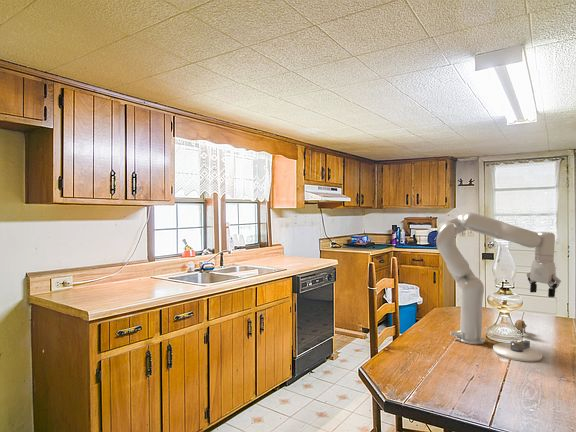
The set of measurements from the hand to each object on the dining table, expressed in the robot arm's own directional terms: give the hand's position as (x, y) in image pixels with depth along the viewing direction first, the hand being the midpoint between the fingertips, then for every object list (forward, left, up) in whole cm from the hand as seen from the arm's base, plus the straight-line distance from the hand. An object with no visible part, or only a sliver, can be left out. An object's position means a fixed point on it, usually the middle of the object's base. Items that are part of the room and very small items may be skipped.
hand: (542, 294), depth 187 cm
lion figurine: (0, +18, -25) cm, 31 cm away
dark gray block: (-14, -9, -23) cm, 28 cm away
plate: (-16, -11, -25) cm, 31 cm away
